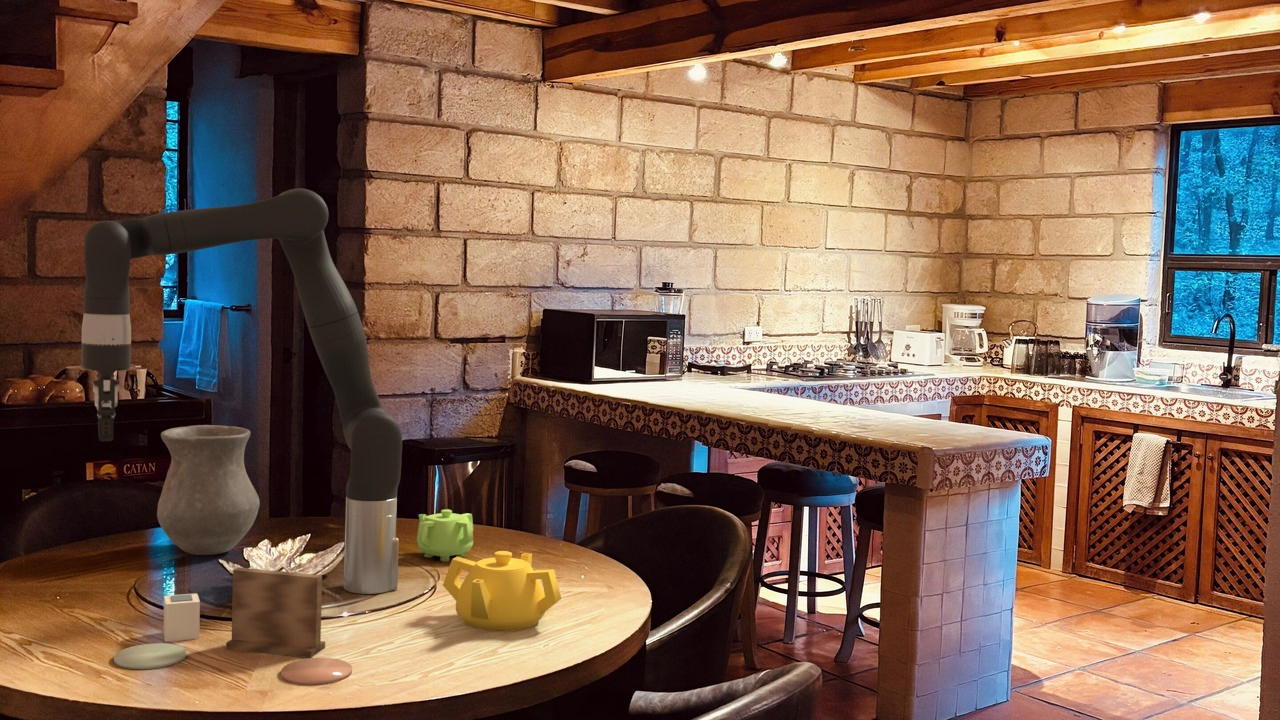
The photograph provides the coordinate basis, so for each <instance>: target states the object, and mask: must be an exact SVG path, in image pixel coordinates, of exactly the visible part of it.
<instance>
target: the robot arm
mask: <svg viewBox="0 0 1280 720" xmlns="http://www.w3.org/2000/svg"><path fill="white" fill-rule="evenodd" d="M329 214H330V213H329V209H328V205H327V204H326V202H325V201H324V199H323V197H321V196H320V195H319V194H317V193H316V192H315V191H314V190H309V189H307V188H301V187H299V188H292V189H288V190H285V191H283V192H281V193H280V194H278V195H276V196H274V197H270V198H267V199H263V200H259V201H255V202H250V203H244V204H237V205H229V206H219V207H205V208H193V209H192V208H191V209H183V210H176V211H175V210H174V211H169V212H162V213H156V214H151V215H149V216H146V217H138V218H126V219H118V220H117V219H115V220H101V221H98V222H95V223H94V224H92V225H91V226H90V227H89V228H88V229H87V230H86V232H85V235H84V239H83V240H84V241H83V243H84V245H83V247H84V268H85V269H84V270H85V282H84V287H83V288H84V289H83V317H82V324H81V359H80V361H81V368H82V369H84V370H87V371H96V372H97V374H96V378H97V379H93V381H92V383H93V384H92V390H93V391H92V392H93V393H94V406H95V408H96V410H97V411H96V412H97V414H96V416H97V419H98V420H97V432H98V441H100V442H111V441H113V440H114V425H115V423H114V419H115V416H116V414H117V413H116V410H115V409H116V407H118V397H119V396H118V395H119V394H118V393H119V391H120V380H119V379H115V374H114V373H115V372H116V371H119V372H120V371H126V370H127V371H128V370H130V368H131V367H132V366H131V365H132V364H131V363H132V355H131V354H132V323H131V317H130V313H131V312H130V309H131V304H130V303H131V299H130V297H131V293H130V285H129V278H130V277H129V276H130V266H131V260H134V259H138V258H144V257H149V256H169V255H175V254H181V253H187V252H194V251H195V252H196V251H199V250H206V249H211V248H215V247H220V246H225V245H229V244H234V243H235V244H236V243H240V242H248V241H255V240H256V241H257V240H267V239H268V240H269V239H275V240H277V239H278V241H279V243H280V244H281V248H282V249H283V251H284V254H285V257H286V259H287V261H288V262H289V265H290V268H291V270H292V274H293V277H294V280H295V285H296V290H297V293H298V298H299V301H300V304H301V309H302V311H303V315H304V317H305V318H304V319H305V321H306V326H307V328H308V331H309V334H310V336H311V341H312V342H313V345H314V347H315V348H314V349H315V351H316V352H317V356H318V358H319V361H320V363H321V365H322V368H323V370H324V372H325V374H326V377H327V379H328V381H329V383H330V386H331V389H332V391H333V393H334V397H335V399H336V400H335V401H336V404H337V407H338V412H339V417H340V420H341V425H342V430H343V435H344V439H345V442H346V444H347V446H348V448H349V449H350V470H349V477H348V481H347V482H346V485H345V486H346V488H345V527H344V529H345V530H344V531H345V532H344V561H343V563H344V567H343V570H344V571H343V589H344V590H345V591H347V592H349V593H354V594H359V595H360V594H363V595H364V594H365V595H370V594H371V595H372V594H374V595H375V594H381V593H387V592H389V591H395V590H397V591H398V580H399V579H398V578H399V577H398V576H399V575H398V574H399V547H400V546H399V544H400V543H399V538H397V510H398V509H397V504H398V503H397V502H398V498H397V497H398V487H399V485H400V481H401V475H402V474H401V473H402V472H401V470H402V454H403V435H402V429H401V426H400V425H399V423H398V421H397V420H396V419H395V418H394V417H392V416H391V415H389V414H388V413H387V412H386V411H385V408H384V406H383V404H382V401H381V400H380V398H379V395H378V392H377V389H376V388H375V385H374V381H373V378H372V375H371V374H372V373H371V365H370V357H369V349H368V340H367V337H366V333H365V330H364V325H363V323H362V320H361V317H360V314H359V312H358V309H357V305H356V303H355V301H354V299H353V297H352V295H351V292H350V291H349V289H348V288H347V285H346V283H345V281H344V280H343V278H342V277H341V274H340V273H339V271H338V270H337V268H336V265H335V264H334V261H333V259H332V257H331V253H330V249H329V246H328V242H327V239H326V235H325V228H326V226H327V224H328V222H329V216H330V215H329Z"/></svg>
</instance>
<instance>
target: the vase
mask: <svg viewBox="0 0 1280 720" xmlns="http://www.w3.org/2000/svg"><path fill="white" fill-rule="evenodd" d="M160 437H161V440H162V442H163V443H164V444H165V445H166V447H167V449H168V451H169V453H170V457H171V462H170V465H169V468H168V470H167V473H166V478H165V480H164V483H163V485H162V491H161V494H160V496H159V500H158V503H157V510H156V518H157V521H158V523H159V525H160V527H161V529H162V530H163V532H164V534H165V535H166V536H167V538H168V539H169V540H170V541H171V542H172V543H173V544H175V545H176V547H178V548H179V549H181V550H182V551H183V552H186V553H188V554H190V555H195V556H196V555H197V556H211V555H214V556H215V555H220V554H223V553H227V552H229V551H231V550H232V549H234V547H235V546H236V545H237V544H239V542H240V541H242V539H243V538H244V537H245V536H246V535H247V533H248V532H249V531H250V529H251V528H252V526H253V525H254V523H255V520H256V518H257V516H258V513H259V510H260V498H259V495H258V493H257V491H256V489H255V487H254V485H253V484H252V482H251V480H250V478H249V476H248V474H247V469H246V466H245V450H246V446H247V443H248V441H249V438H250V437H251V431H250V430H249V429H247V428H244V427H240V426H239V427H238V426H234V425H233V426H230V425H229V426H228V425H215V424H214V425H213V424H212V425H211V424H203V425H202V424H197V425H188V426H179V427H173V428H169V429H166V430H164V431H162V432H161V433H160Z"/></svg>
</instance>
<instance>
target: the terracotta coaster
mask: <svg viewBox="0 0 1280 720" xmlns="http://www.w3.org/2000/svg"><path fill="white" fill-rule="evenodd" d="M352 672H353V666H352V664H351V663H349V662H348V661H346V660H343V659H339V658H334V657H311V658H302V659H299V660H294V661H292V662H288V663H287V664H285V665H284V666H283V667H282V668H281V674H280V676H281V677H282V679H283V680H285V681H287V682H289V683H292V684H296V685H305V686H306V685H307V686H315V685H319V686H320V685H326V684H327V685H328V684H333V683H337V682H340V681H343V680H345V679H347V678H349V677H350V676H351V675H352Z"/></svg>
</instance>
